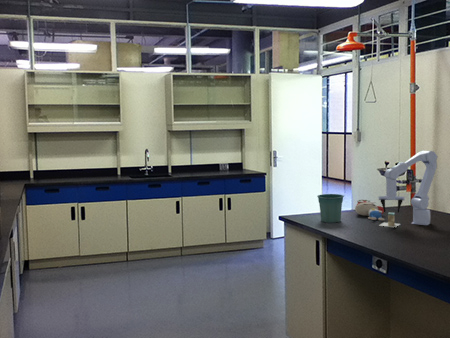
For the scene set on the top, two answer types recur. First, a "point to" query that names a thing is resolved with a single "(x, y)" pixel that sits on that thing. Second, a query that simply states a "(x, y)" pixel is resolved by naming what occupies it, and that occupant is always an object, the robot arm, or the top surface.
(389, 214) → the teal block wooden top
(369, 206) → the toy
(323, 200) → the flower pot
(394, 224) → the mat
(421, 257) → the top surface
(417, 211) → the robot arm
